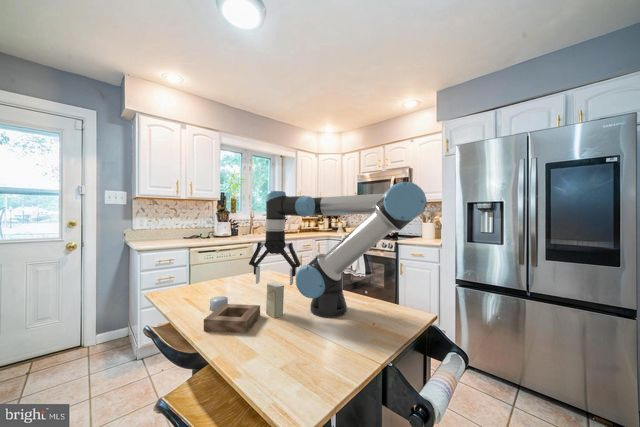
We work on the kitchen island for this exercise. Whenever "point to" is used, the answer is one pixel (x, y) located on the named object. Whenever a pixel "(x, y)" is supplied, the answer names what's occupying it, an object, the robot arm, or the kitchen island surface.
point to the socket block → (232, 318)
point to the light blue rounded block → (217, 302)
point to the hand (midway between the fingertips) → (274, 283)
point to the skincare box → (275, 299)
